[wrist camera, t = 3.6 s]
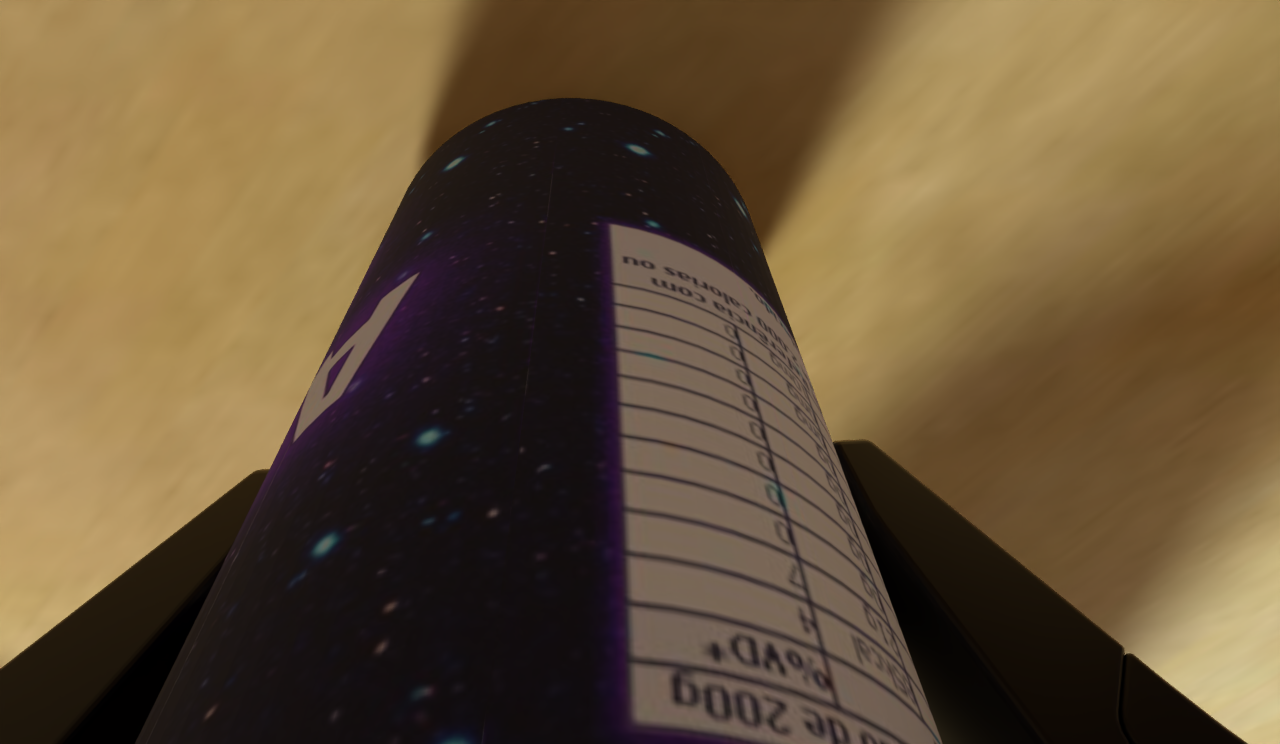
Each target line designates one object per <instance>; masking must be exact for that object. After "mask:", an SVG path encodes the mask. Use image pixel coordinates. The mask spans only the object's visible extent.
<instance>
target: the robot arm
mask: <svg viewBox="0 0 1280 744" xmlns="http://www.w3.org/2000/svg"><path fill="white" fill-rule="evenodd" d="M833 445H834V448H835V450H836V453H837V456H838V459H839V461H840V464H841V467H842V470H843V472H844V475H845V478H846V481H847V483H848V486H849V489H850V491H851V494H852V497H853V500H854V502H855V505H856V508H857V511H858V513H859V516H860V519H861V522H862V524H863V527H864V530H865V533H866V535H867V538H868V541H869V544H870V546H871V549H872V552H873V554H874V557H875V560H876V563H877V565H878V568H879V571H880V574H881V576H882V579H883V582H884V585H885V587H886V590H887V593H888V596H889V598H890V601H891V604H892V607H893V609H894V612H895V615H896V617H897V620H898V623H899V626H900V628H901V631H902V634H903V637H904V639H905V642H906V645H907V648H908V650H909V653H910V656H911V659H912V661H913V664H914V667H915V670H916V672H917V675H918V678H919V680H920V683H921V686H922V689H923V691H924V694H925V697H926V700H927V702H928V705H929V708H930V711H931V713H932V716H933V719H934V722H935V724H936V727H937V730H938V733H939V735H940V738H941V741H942V743H943V744H1248V743H1246V742H1245V741H1243V740H1242V739H1241V738H1239V737H1238V736H1237V735H1235V734H1234V733H1232V732H1231V731H1230V730H1228V729H1227V728H1226V727H1224V726H1223V725H1222V724H1220V723H1219V722H1218V721H1216V720H1215V719H1214V718H1213V717H1211V716H1210V715H1209V714H1207V713H1206V712H1205V711H1204V710H1202V709H1201V708H1200V707H1198V706H1197V705H1196V704H1195V703H1193V702H1192V701H1191V700H1189V699H1188V698H1187V697H1186V696H1184V695H1183V694H1182V693H1181V692H1179V691H1178V690H1177V689H1175V688H1174V687H1173V686H1172V685H1170V684H1169V683H1168V682H1166V681H1165V680H1164V679H1163V678H1162V677H1160V676H1159V675H1158V674H1157V673H1155V672H1154V671H1153V670H1152V669H1150V668H1149V667H1148V666H1147V665H1146V664H1144V663H1143V662H1142V661H1141V660H1139V659H1138V658H1137V657H1136V656H1134V655H1133V654H1131V653H1128V654H1125V650H1124V647H1123V646H1122V645H1120V644H1119V643H1118V642H1117V641H1116V640H1114V639H1113V638H1112V637H1111V636H1109V635H1108V634H1107V633H1106V632H1105V631H1103V630H1102V629H1101V628H1100V627H1098V626H1097V625H1096V624H1095V623H1093V622H1092V621H1091V620H1090V619H1089V618H1087V617H1086V616H1085V615H1084V614H1082V613H1081V612H1080V611H1079V610H1077V609H1076V608H1075V607H1074V606H1073V605H1071V604H1070V603H1069V602H1068V601H1066V600H1065V599H1064V598H1063V597H1061V596H1060V595H1059V594H1058V593H1057V592H1055V591H1054V590H1053V589H1052V588H1050V587H1049V586H1048V585H1047V584H1046V583H1044V582H1043V581H1042V580H1041V579H1039V578H1038V577H1037V576H1036V575H1034V574H1033V573H1032V572H1031V571H1030V570H1028V569H1027V568H1026V567H1025V566H1023V565H1022V564H1021V563H1020V562H1018V561H1017V560H1016V559H1015V558H1014V557H1012V556H1011V555H1010V554H1009V553H1007V552H1006V551H1005V550H1004V549H1002V548H1001V547H1000V546H999V545H998V544H996V543H995V542H994V541H993V540H991V539H990V538H989V537H988V536H987V535H985V534H984V533H983V532H982V531H980V530H979V529H978V528H977V527H975V526H974V525H973V524H972V523H971V522H969V521H968V520H967V519H966V518H964V517H963V516H962V515H961V514H959V513H958V512H957V511H956V510H955V509H953V508H952V507H951V506H950V505H948V504H947V503H946V502H945V501H943V500H942V499H941V498H940V497H939V496H937V495H936V494H935V493H934V492H932V491H931V490H930V489H929V488H927V487H926V486H925V485H924V484H923V483H921V482H920V481H919V480H918V479H916V478H915V477H914V476H913V475H912V474H910V473H909V472H908V471H907V470H905V469H904V468H903V467H902V466H900V465H899V464H898V463H897V462H896V461H894V460H893V459H892V458H891V457H889V456H888V455H887V454H886V453H884V452H883V451H882V450H881V449H880V448H878V447H877V446H876V445H875V444H873V443H872V442H870V441H868V440H843V441H835V442H833ZM269 470H270V469H262V470H257V471H255V472H253V473H252V474H250V475H249V476H247V477H246V478H245V479H243V480H242V481H241V482H240V483H238V484H237V485H236V486H234V487H233V488H232V489H231V490H229V491H228V492H227V493H226V494H224V495H223V496H222V497H220V498H219V499H218V500H217V501H215V502H214V503H213V504H211V505H210V506H209V507H208V508H206V509H205V510H204V511H202V512H201V513H200V514H199V515H197V516H196V517H195V518H193V519H192V520H191V521H190V522H188V523H187V524H186V525H184V526H183V527H182V528H181V529H179V530H178V531H177V532H175V533H174V534H173V535H172V536H170V537H169V538H168V539H166V540H165V541H164V542H163V543H161V544H160V545H159V546H157V547H156V548H155V549H154V550H152V551H151V552H150V553H148V554H147V555H146V556H145V557H143V558H142V559H141V560H139V561H138V562H137V563H136V564H134V565H133V566H132V567H130V568H129V569H128V570H127V571H125V572H124V573H123V574H122V575H120V576H119V577H118V578H116V579H115V580H114V581H113V582H111V583H110V584H109V585H107V586H106V587H105V588H104V589H102V590H101V591H100V592H98V593H97V594H96V595H95V596H93V597H92V598H91V599H89V600H88V601H87V602H86V603H84V604H83V605H82V606H80V607H79V608H78V609H77V610H75V611H74V612H73V613H71V614H70V615H69V616H68V617H66V618H65V619H64V620H62V621H61V622H60V623H59V624H57V625H56V626H55V627H53V628H52V629H51V630H50V631H48V632H47V633H46V634H44V635H43V636H42V637H41V638H39V639H38V640H37V641H35V642H34V643H33V644H32V645H30V646H29V647H28V648H26V649H25V650H24V651H23V652H21V653H20V654H19V655H17V656H16V657H15V658H14V659H12V660H11V661H10V662H8V663H7V664H6V665H5V666H3V667H2V668H1V669H0V744H135V742H136V740H137V738H138V736H139V734H140V732H141V730H142V728H143V726H144V724H145V722H146V720H147V718H148V716H149V714H150V712H151V710H152V708H153V706H154V703H155V701H156V699H157V697H158V695H159V693H160V691H161V689H162V687H163V685H164V683H165V681H166V679H167V677H168V675H169V673H170V671H171V669H172V667H173V665H174V663H175V661H176V659H177V657H178V655H179V653H180V651H181V649H182V647H183V645H184V643H185V640H186V638H187V636H188V634H189V632H190V630H191V628H192V626H193V624H194V622H195V620H196V618H197V616H198V614H199V612H200V610H201V608H202V606H203V604H204V602H205V600H206V598H207V596H208V594H209V592H210V590H211V588H212V586H213V584H214V582H215V580H216V577H217V575H218V573H219V571H220V569H221V567H222V565H223V563H224V561H225V559H226V557H227V555H228V553H229V551H230V549H231V547H232V545H233V543H234V541H235V539H236V537H237V535H238V533H239V531H240V529H241V527H242V525H243V523H244V521H245V519H246V517H247V514H248V512H249V510H250V508H251V506H252V504H253V502H254V500H255V498H256V496H257V494H258V492H259V490H260V488H261V486H262V484H263V482H264V480H265V478H266V476H267V474H268V472H269ZM1124 654H1125V655H1124Z"/></svg>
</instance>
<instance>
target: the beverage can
mask: <svg viewBox="0 0 1280 744" xmlns="http://www.w3.org/2000/svg"><path fill="white" fill-rule="evenodd" d="M135 744H943V743H942V741H941V738H940V735H939V733H938V730H937V727H936V724H935V722H934V719H933V716H932V713H931V711H930V708H929V705H928V702H927V700H926V697H925V694H924V691H923V689H922V686H921V683H920V680H919V678H918V675H917V672H916V670H915V667H914V664H913V661H912V659H911V656H910V653H909V650H908V648H907V645H906V642H905V639H904V637H903V634H902V631H901V628H900V626H899V623H898V620H897V617H896V615H895V612H894V609H893V607H892V604H891V601H890V598H889V596H888V593H887V590H886V587H885V585H884V582H883V579H882V576H881V574H880V571H879V568H878V565H877V563H876V560H875V557H874V554H873V552H872V549H871V546H870V544H869V541H868V538H867V535H866V533H865V530H864V527H863V524H862V522H861V519H860V516H859V513H858V511H857V508H856V505H855V502H854V500H853V497H852V494H851V491H850V489H849V486H848V483H847V481H846V478H845V475H844V472H843V470H842V467H841V464H840V461H839V459H838V456H837V453H836V450H835V448H834V445H833V442H832V439H831V437H830V434H829V431H828V428H827V426H826V423H825V420H824V418H823V415H822V412H821V409H820V407H819V404H818V401H817V398H816V396H815V393H814V390H813V387H812V385H811V382H810V379H809V376H808V374H807V371H806V368H805V365H804V363H803V360H802V357H801V355H800V352H799V349H798V346H797V344H796V341H795V338H794V335H793V333H792V330H791V327H790V324H789V322H788V319H787V316H786V313H785V311H784V308H783V305H782V302H781V300H780V297H779V294H778V292H777V289H776V286H775V283H774V281H773V278H772V275H771V272H770V270H769V267H768V264H767V261H766V259H765V256H764V253H763V250H762V248H761V245H760V242H759V239H758V237H757V234H756V231H755V229H754V226H753V223H752V220H751V218H750V215H749V212H748V210H747V207H746V205H745V203H744V201H743V198H742V197H741V195H740V193H739V191H738V189H737V188H736V186H735V184H734V183H733V181H732V180H731V178H730V177H729V175H728V174H727V173H726V171H725V170H724V169H723V168H722V167H721V165H720V164H719V163H718V162H717V161H716V160H715V159H714V158H713V157H712V156H711V154H710V153H709V152H708V151H706V150H705V149H704V148H703V147H702V146H701V145H700V144H698V143H697V142H696V141H695V140H693V139H692V138H691V137H689V136H688V135H687V134H685V133H684V132H682V131H681V130H679V129H678V128H676V127H674V126H673V125H671V124H669V123H667V122H665V121H663V120H661V119H659V118H658V117H655V116H653V115H651V114H648V113H646V112H643V111H641V110H638V109H635V108H631V107H628V106H625V105H621V104H617V103H612V102H607V101H601V100H594V99H581V98H559V99H547V100H540V101H534V102H528V103H524V104H520V105H516V106H512V107H509V108H506V109H503V110H500V111H498V112H495V113H493V114H491V115H488V116H486V117H484V118H482V119H480V120H478V121H476V122H474V123H473V124H471V125H469V126H468V127H466V128H464V129H463V130H461V131H460V132H458V133H457V134H456V135H454V136H453V137H452V138H450V139H449V140H448V141H447V142H445V143H444V144H443V145H442V146H441V147H440V148H439V149H438V150H437V151H436V152H435V153H434V154H433V155H432V156H431V157H430V158H429V159H428V160H427V161H426V163H425V164H424V165H423V166H422V168H421V169H420V170H419V172H418V173H417V174H416V176H415V178H414V179H413V181H412V182H411V184H410V186H409V187H408V189H407V191H406V193H405V195H404V197H403V199H402V201H401V204H400V206H399V208H398V210H397V212H396V214H395V216H394V218H393V220H392V222H391V224H390V226H389V228H388V230H387V232H386V234H385V236H384V238H383V240H382V242H381V244H380V246H379V248H378V250H377V252H376V254H375V256H374V258H373V260H372V262H371V264H370V267H369V269H368V271H367V273H366V275H365V277H364V279H363V281H362V283H361V285H360V287H359V289H358V291H357V293H356V295H355V297H354V299H353V301H352V303H351V305H350V307H349V309H348V311H347V313H346V315H345V317H344V319H343V321H342V323H341V325H340V328H339V330H338V332H337V334H336V336H335V338H334V340H333V342H332V344H331V346H330V348H329V350H328V352H327V354H326V356H325V358H324V360H323V362H322V364H321V366H320V368H319V370H318V372H317V374H316V376H315V378H314V380H313V382H312V384H311V386H310V388H309V391H308V393H307V395H306V397H305V399H304V401H303V403H302V405H301V407H300V409H299V411H298V413H297V415H296V417H295V419H294V421H293V423H292V425H291V427H290V429H289V431H288V433H287V435H286V437H285V439H284V441H283V443H282V445H281V447H280V449H279V451H278V454H277V456H276V458H275V460H274V462H273V464H272V466H271V468H270V470H269V472H268V474H267V476H266V478H265V480H264V482H263V484H262V486H261V488H260V490H259V492H258V494H257V496H256V498H255V500H254V502H253V504H252V506H251V508H250V510H249V512H248V514H247V517H246V519H245V521H244V523H243V525H242V527H241V529H240V531H239V533H238V535H237V537H236V539H235V541H234V543H233V545H232V547H231V549H230V551H229V553H228V555H227V557H226V559H225V561H224V563H223V565H222V567H221V569H220V571H219V573H218V575H217V577H216V580H215V582H214V584H213V586H212V588H211V590H210V592H209V594H208V596H207V598H206V600H205V602H204V604H203V606H202V608H201V610H200V612H199V614H198V616H197V618H196V620H195V622H194V624H193V626H192V628H191V630H190V632H189V634H188V636H187V638H186V640H185V643H184V645H183V647H182V649H181V651H180V653H179V655H178V657H177V659H176V661H175V663H174V665H173V667H172V669H171V671H170V673H169V675H168V677H167V679H166V681H165V683H164V685H163V687H162V689H161V691H160V693H159V695H158V697H157V699H156V701H155V703H154V706H153V708H152V710H151V712H150V714H149V716H148V718H147V720H146V722H145V724H144V726H143V728H142V730H141V732H140V734H139V736H138V738H137V740H136V742H135Z"/></svg>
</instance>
